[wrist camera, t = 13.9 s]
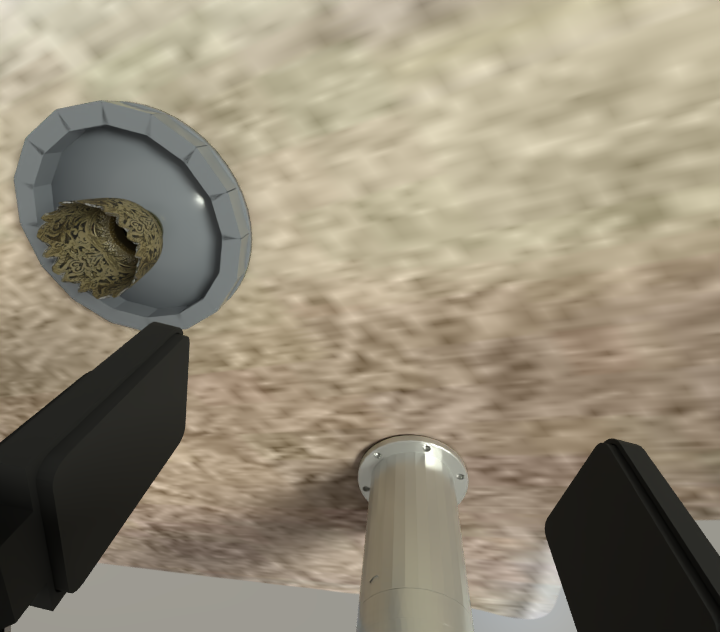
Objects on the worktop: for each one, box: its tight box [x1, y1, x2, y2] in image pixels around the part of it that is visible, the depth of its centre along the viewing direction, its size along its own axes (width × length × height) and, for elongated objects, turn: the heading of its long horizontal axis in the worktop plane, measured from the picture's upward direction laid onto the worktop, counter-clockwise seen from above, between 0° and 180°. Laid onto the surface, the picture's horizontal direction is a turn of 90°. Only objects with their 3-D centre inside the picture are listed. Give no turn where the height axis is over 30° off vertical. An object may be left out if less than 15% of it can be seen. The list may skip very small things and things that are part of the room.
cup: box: [37, 198, 164, 299], centre depth 34 cm, size 8×7×8 cm
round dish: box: [14, 101, 252, 330], centre depth 37 cm, size 20×20×3 cm
